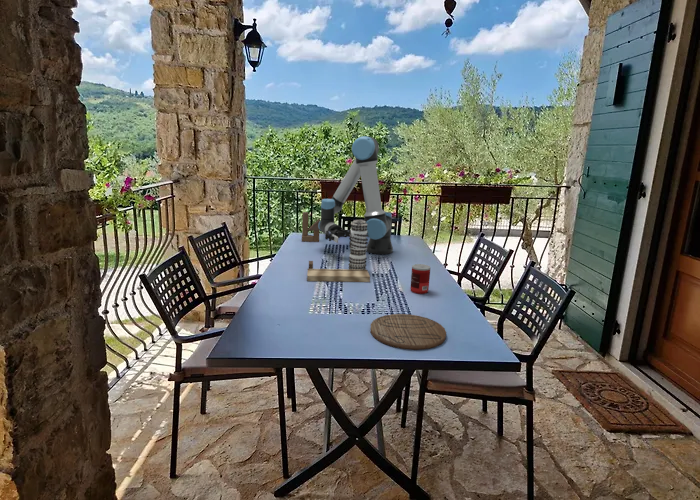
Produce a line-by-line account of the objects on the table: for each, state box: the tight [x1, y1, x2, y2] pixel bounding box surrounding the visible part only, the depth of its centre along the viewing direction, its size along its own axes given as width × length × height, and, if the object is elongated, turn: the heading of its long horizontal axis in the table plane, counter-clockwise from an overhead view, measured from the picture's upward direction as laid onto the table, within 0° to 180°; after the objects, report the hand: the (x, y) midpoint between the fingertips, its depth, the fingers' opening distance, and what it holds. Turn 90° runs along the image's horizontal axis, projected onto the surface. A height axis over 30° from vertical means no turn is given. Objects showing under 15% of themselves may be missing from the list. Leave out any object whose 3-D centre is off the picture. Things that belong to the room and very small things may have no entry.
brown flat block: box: [308, 260, 314, 269], centre depth 210 cm, size 2×6×4 cm, turn 5°
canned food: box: [409, 263, 431, 295], centre depth 186 cm, size 8×8×11 cm
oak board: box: [306, 268, 371, 283], centre depth 201 cm, size 28×11×3 cm, turn 95°
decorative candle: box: [347, 219, 369, 270], centre depth 210 cm, size 9×9×25 cm
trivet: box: [369, 313, 447, 351], centre depth 146 cm, size 25×25×2 cm
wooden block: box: [301, 211, 321, 243], centre depth 269 cm, size 4×11×18 cm, turn 93°
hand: (350, 239), depth 217 cm, fingers open, 13 cm apart
